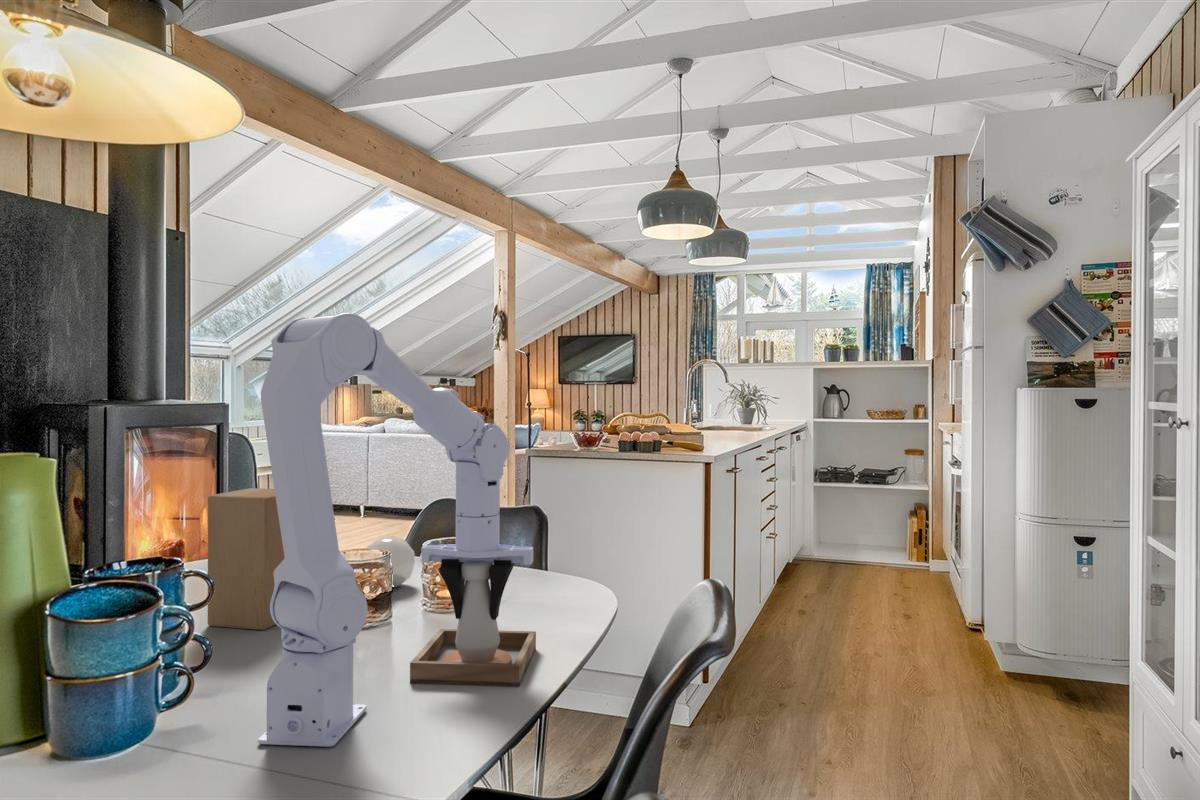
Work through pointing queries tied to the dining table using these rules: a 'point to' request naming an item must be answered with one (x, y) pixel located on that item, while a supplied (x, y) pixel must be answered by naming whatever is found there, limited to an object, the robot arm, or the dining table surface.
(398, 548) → the white rounded ovoid
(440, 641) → the square wooden serving tray
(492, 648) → the salt shaker
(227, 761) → the dining table surface
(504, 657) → the coaster
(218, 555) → the wooden block
